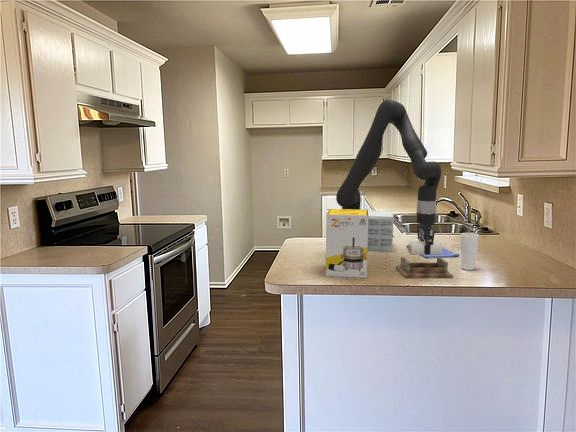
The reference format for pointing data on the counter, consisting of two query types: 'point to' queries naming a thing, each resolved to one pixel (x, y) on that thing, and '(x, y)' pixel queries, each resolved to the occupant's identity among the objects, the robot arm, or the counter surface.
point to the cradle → (424, 269)
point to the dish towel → (442, 254)
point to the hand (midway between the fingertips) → (424, 252)
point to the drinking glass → (469, 250)
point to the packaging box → (346, 243)
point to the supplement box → (380, 231)
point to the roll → (418, 248)
